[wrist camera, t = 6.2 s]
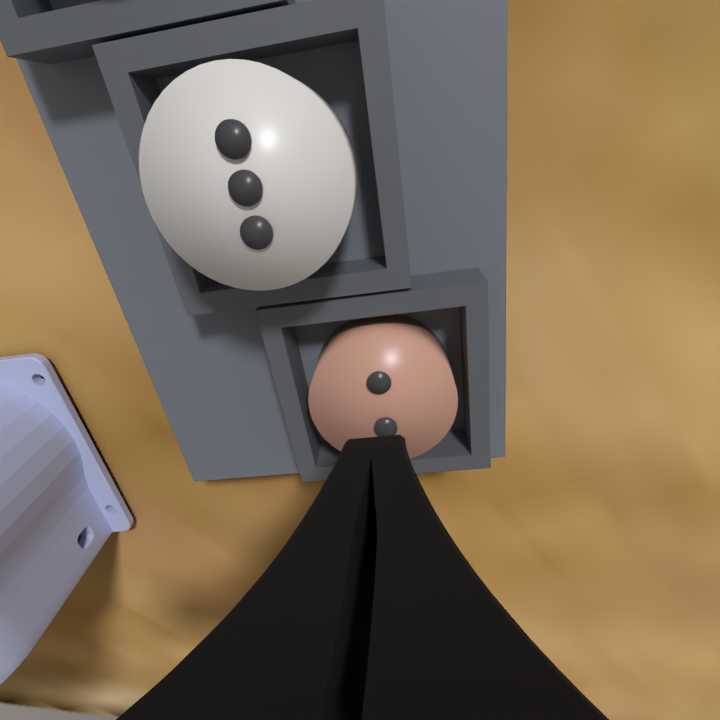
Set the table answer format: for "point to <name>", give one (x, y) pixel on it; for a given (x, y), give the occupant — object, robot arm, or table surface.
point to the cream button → (247, 174)
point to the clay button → (383, 384)
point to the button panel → (363, 234)
